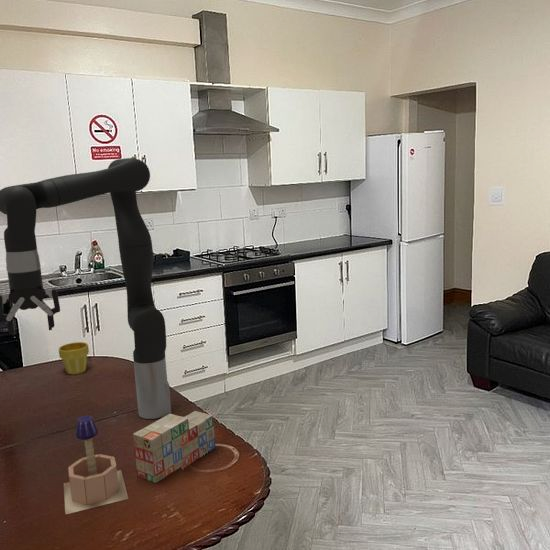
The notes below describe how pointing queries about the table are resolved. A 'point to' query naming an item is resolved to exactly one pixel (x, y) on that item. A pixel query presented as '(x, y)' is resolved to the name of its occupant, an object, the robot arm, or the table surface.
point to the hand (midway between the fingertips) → (32, 332)
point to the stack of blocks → (172, 444)
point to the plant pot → (74, 357)
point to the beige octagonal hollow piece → (93, 480)
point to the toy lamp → (88, 440)
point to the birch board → (75, 507)
